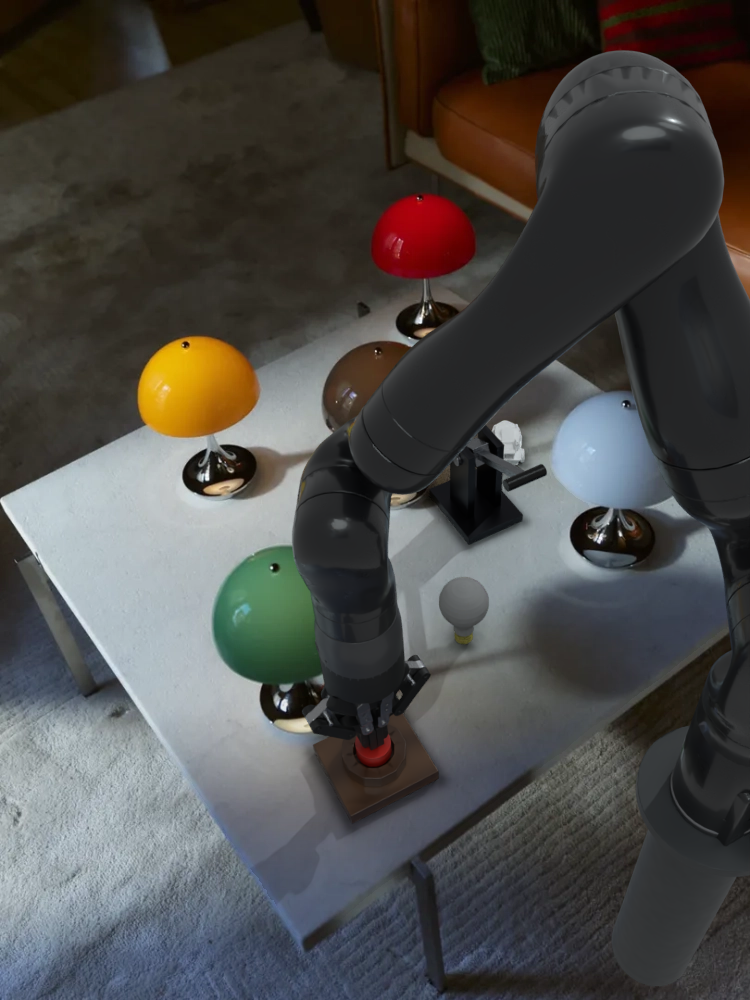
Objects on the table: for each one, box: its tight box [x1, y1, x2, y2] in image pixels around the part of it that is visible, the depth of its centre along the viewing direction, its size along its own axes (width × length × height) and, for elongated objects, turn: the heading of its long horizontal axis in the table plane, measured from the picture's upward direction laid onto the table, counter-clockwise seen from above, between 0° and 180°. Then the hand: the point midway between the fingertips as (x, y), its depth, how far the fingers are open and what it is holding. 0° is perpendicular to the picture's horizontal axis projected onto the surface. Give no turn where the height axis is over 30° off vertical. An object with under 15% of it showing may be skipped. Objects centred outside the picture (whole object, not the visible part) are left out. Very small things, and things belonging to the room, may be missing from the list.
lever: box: [467, 437, 548, 493], centre depth 111 cm, size 13×5×2 cm, turn 27°
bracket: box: [428, 424, 524, 545], centre depth 118 cm, size 10×8×12 cm
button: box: [355, 734, 392, 767], centre depth 96 cm, size 4×4×2 cm
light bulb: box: [438, 576, 490, 645], centre depth 105 cm, size 6×6×10 cm
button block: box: [312, 713, 440, 824], centre depth 97 cm, size 9×10×4 cm
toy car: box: [491, 419, 526, 466], centre depth 128 cm, size 5×8×4 cm, turn 179°
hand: (373, 740), depth 95 cm, fingers closed
